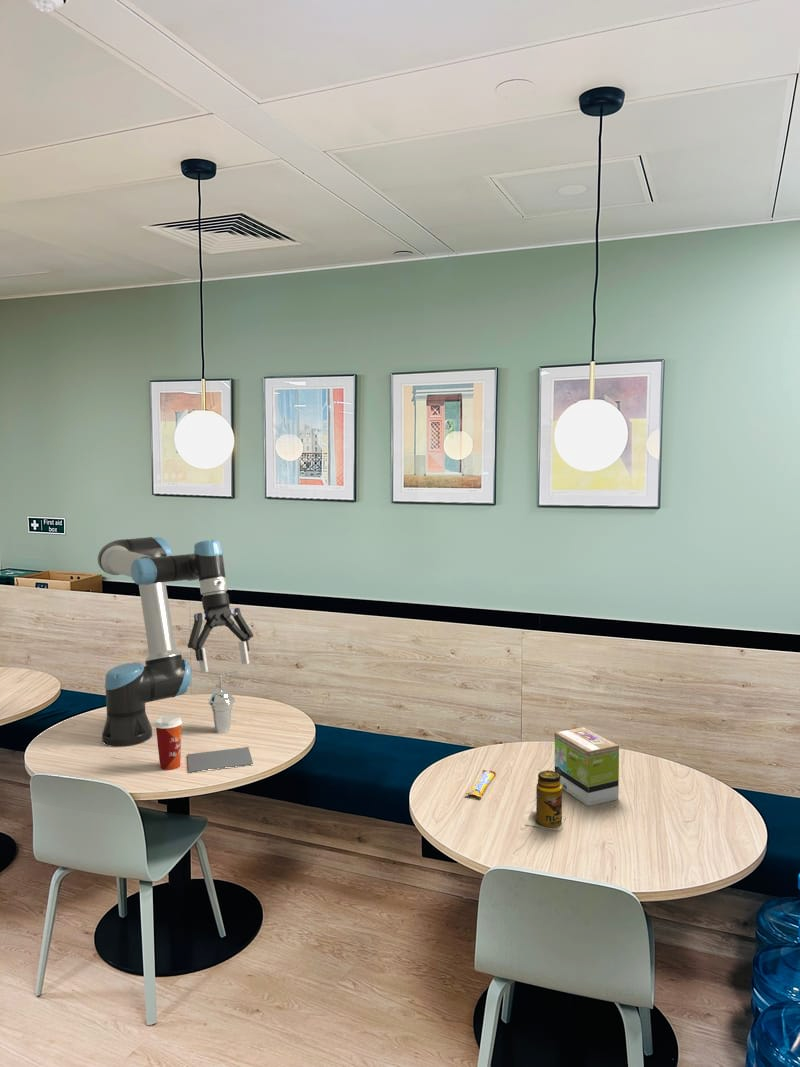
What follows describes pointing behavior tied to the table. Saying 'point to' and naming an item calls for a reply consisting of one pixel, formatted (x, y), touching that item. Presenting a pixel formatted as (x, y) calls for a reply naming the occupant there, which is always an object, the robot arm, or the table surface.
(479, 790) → the candy bar
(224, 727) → the cup with straw
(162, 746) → the paper cup
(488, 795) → the table surface
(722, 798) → the table surface
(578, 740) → the tea box
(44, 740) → the table surface
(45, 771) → the table surface
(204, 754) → the mat
